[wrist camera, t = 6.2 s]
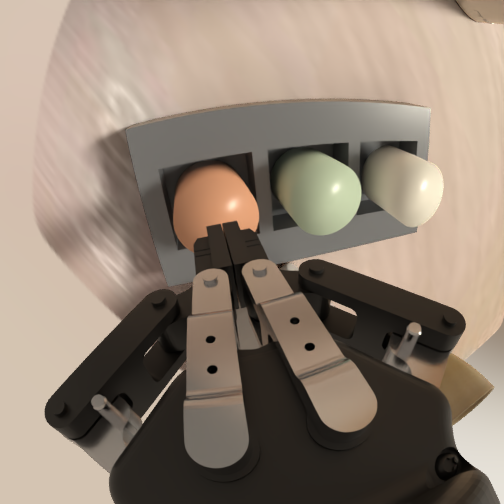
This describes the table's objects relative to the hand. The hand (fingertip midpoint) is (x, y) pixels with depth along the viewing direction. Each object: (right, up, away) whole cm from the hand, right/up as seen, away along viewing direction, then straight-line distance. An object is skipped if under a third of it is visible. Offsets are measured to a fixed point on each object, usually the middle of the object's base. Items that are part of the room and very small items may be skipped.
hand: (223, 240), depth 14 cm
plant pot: (+44, -26, +39) cm, 65 cm away
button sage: (+5, +5, +7) cm, 10 cm away
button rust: (-2, +4, +6) cm, 7 cm away
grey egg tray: (+5, +6, +8) cm, 11 cm away
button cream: (+12, +6, +7) cm, 15 cm away
